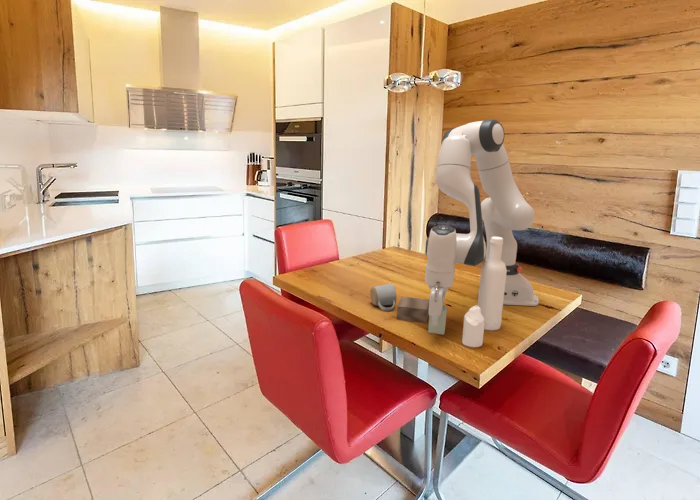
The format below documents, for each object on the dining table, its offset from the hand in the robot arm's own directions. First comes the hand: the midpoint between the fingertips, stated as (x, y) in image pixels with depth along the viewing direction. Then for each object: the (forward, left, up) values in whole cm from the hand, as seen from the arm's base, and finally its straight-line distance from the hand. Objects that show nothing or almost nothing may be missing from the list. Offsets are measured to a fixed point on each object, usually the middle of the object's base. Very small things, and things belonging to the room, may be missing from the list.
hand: (436, 319), depth 137 cm
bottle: (-16, -9, -4) cm, 19 cm away
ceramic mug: (+20, -16, -4) cm, 26 cm away
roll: (-11, +6, -4) cm, 14 cm away
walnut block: (+9, -10, -4) cm, 14 cm away
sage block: (0, 0, -4) cm, 4 cm away
